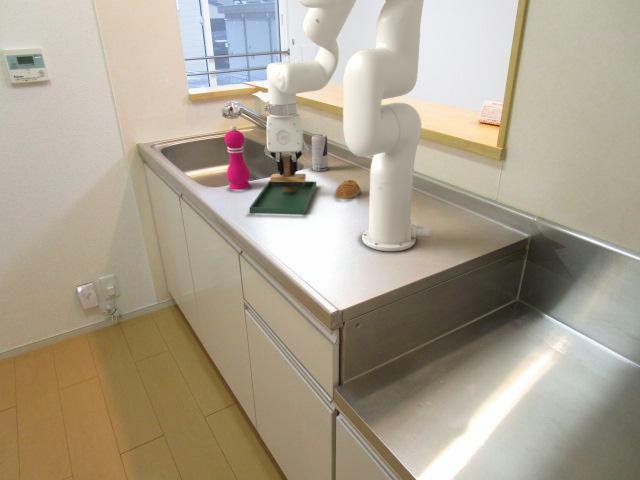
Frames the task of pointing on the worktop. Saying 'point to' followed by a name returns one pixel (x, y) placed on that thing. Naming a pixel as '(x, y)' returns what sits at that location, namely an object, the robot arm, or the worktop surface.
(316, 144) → the energy drink
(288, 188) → the wooden cube
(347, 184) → the pastry
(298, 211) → the tray
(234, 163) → the pepper mill
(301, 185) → the brush
